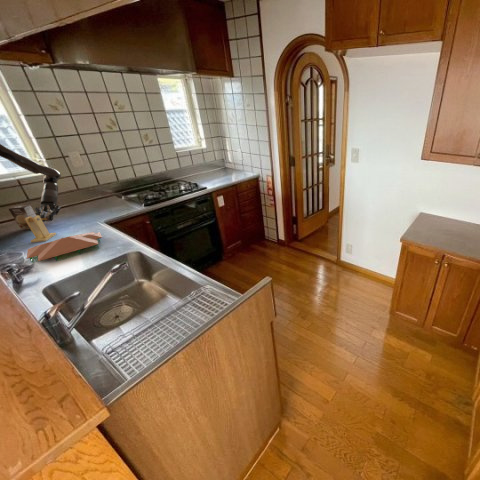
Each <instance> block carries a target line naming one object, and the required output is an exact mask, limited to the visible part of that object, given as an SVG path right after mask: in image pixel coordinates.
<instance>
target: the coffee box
mask: <svg viewBox="0 0 480 480" xmlns="http://www.w3.org/2000/svg"><path fill="white" fill-rule="evenodd" d="M8 211H9V212H10V214H11V216H12V217H13V219H14V220H15V222H16V224H17V225H18V227H19V228H20V230H21V231H27V230H29V231H30V230H31V229H30V227H29V226H28V224H27V222H26V221H25V218H27V217H29V216H32V218H33V217H35V216H37V213H36V211H34V208H33V207H32V205H31V204H17V205H13V206H11V207H9V208H8Z"/></svg>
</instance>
